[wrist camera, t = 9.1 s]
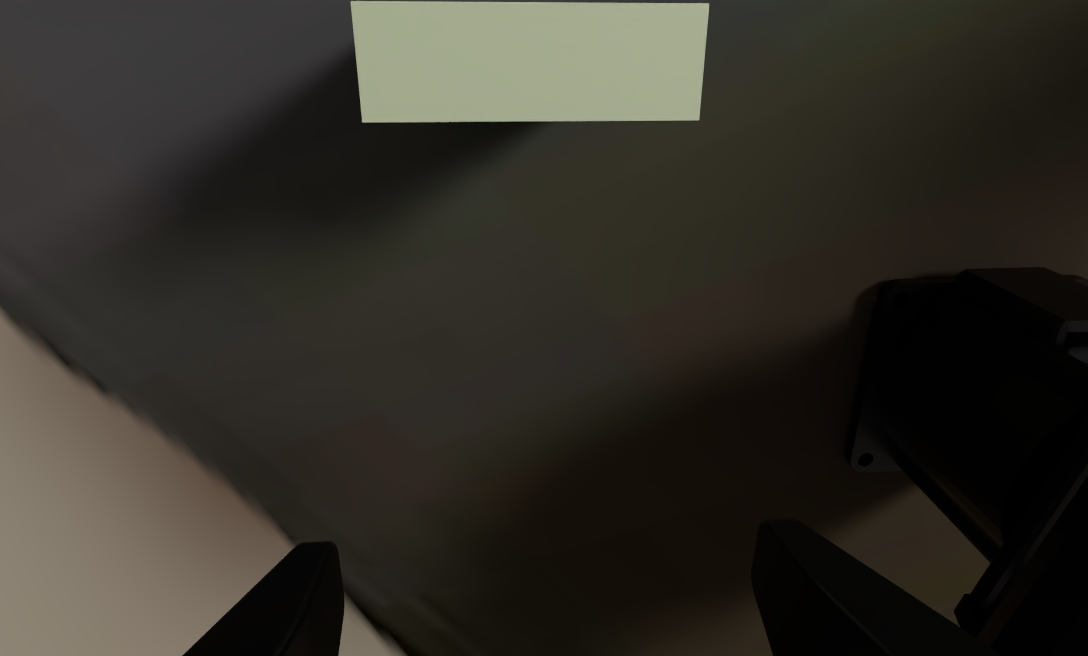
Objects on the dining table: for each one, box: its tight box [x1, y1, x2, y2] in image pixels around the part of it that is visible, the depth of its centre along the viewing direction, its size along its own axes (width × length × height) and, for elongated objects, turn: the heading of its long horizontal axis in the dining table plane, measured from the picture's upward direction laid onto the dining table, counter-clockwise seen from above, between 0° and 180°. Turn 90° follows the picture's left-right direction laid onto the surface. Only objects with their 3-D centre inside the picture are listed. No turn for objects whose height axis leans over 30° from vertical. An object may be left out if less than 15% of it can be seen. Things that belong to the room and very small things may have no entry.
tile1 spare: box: [351, 1, 709, 122], centre depth 14 cm, size 2×5×8 cm, turn 90°
